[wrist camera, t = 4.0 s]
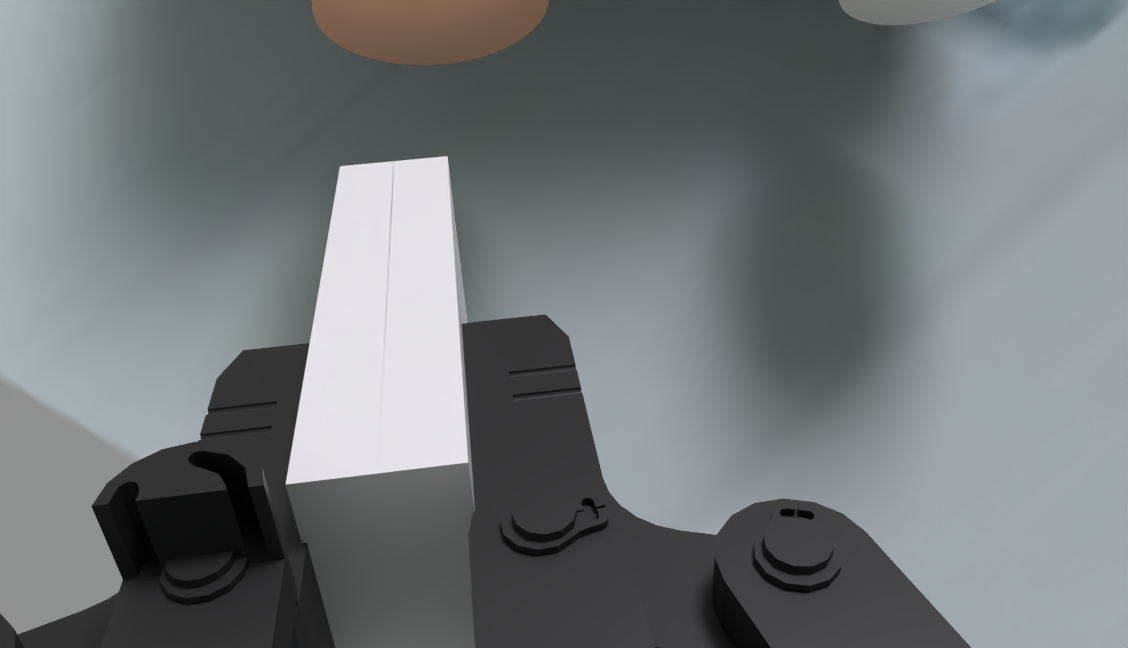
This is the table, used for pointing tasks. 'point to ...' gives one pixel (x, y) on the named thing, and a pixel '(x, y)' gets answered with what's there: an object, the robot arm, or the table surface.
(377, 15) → the knob
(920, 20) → the knob
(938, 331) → the table surface
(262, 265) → the table surface
